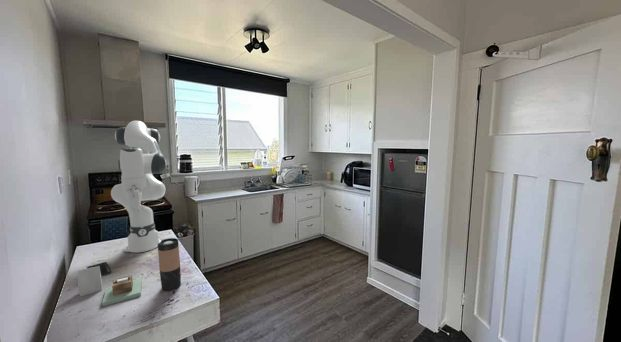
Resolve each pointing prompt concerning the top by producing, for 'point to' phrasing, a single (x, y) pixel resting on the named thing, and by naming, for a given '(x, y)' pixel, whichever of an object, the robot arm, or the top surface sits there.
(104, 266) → the phone
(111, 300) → the base
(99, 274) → the white boxy piece
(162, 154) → the robot arm
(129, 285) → the open wooden frame
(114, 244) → the top surface
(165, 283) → the travel mug
